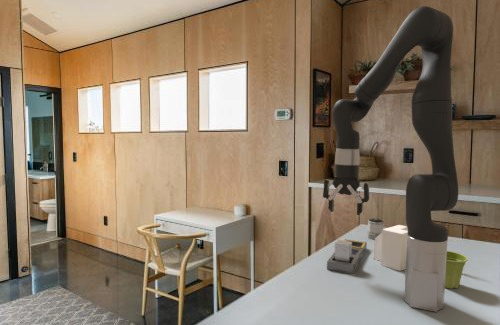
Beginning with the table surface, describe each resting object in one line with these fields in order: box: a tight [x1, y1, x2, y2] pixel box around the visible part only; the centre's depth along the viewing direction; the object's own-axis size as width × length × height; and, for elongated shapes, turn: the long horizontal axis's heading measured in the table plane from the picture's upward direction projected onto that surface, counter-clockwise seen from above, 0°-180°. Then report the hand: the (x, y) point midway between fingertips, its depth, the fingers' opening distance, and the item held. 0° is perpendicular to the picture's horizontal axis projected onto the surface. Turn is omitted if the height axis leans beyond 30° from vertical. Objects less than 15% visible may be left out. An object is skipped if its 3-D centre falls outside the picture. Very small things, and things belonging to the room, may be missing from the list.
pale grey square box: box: [334, 239, 352, 263], centre depth 119 cm, size 4×4×8 cm
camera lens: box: [367, 218, 385, 240], centre depth 152 cm, size 6×6×8 cm
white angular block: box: [373, 224, 408, 272], centre depth 123 cm, size 11×11×12 cm
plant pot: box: [445, 250, 468, 289], centre depth 105 cm, size 9×9×9 cm
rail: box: [326, 239, 368, 275], centre depth 127 cm, size 28×8×3 cm, turn 154°
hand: (345, 212), depth 118 cm, fingers open, 8 cm apart
